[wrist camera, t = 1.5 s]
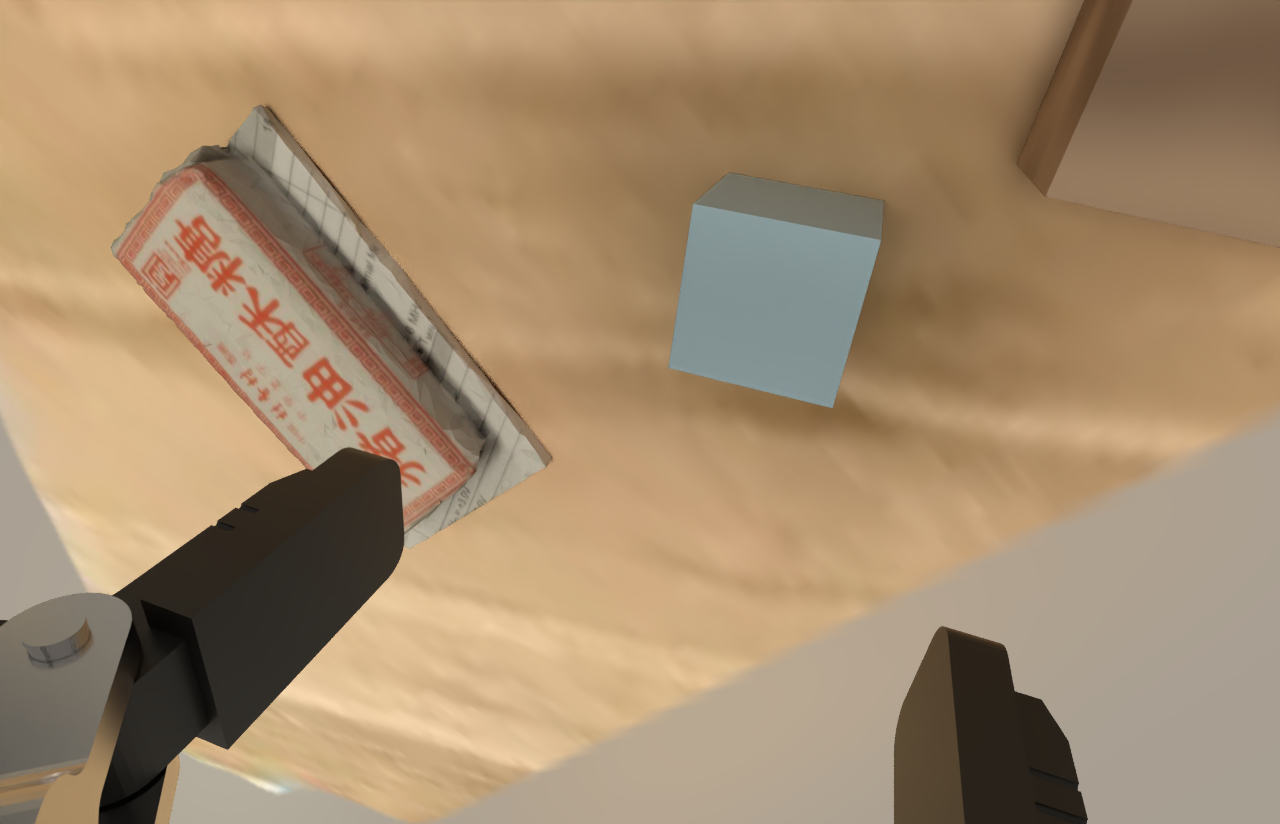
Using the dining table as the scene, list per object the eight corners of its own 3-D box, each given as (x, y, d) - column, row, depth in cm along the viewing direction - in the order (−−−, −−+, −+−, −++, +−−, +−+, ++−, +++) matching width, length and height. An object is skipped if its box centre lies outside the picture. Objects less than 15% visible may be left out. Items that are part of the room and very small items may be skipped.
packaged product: (68, 272, 29) (171, 112, 24) (171, 242, 33) (277, 100, 28) (368, 596, 32) (512, 516, 27) (427, 533, 36) (561, 454, 31)
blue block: (729, 172, 23) (692, 203, 19) (884, 200, 22) (881, 240, 18) (705, 312, 26) (668, 368, 22) (843, 344, 25) (832, 408, 21)
